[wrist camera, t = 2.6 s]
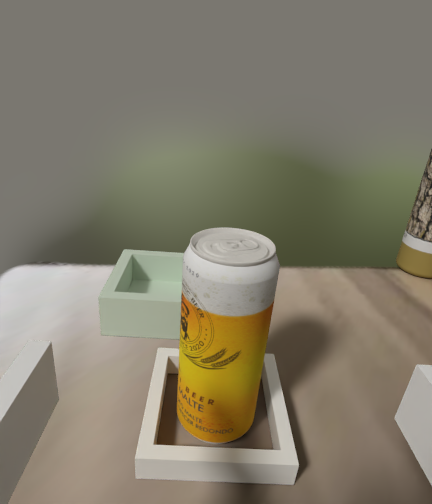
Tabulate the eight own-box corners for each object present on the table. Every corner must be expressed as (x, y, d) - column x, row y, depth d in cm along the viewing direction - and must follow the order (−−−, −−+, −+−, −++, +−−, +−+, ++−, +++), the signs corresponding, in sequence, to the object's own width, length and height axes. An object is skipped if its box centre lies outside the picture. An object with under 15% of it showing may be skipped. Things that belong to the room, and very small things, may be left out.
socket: (210, 286, 46) (212, 255, 45) (209, 341, 37) (212, 304, 35) (125, 280, 46) (124, 249, 44) (101, 335, 36) (98, 297, 34)
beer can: (166, 397, 30) (170, 229, 23) (232, 378, 32) (251, 222, 26) (193, 462, 25) (207, 272, 18) (267, 434, 27) (302, 258, 21)
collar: (270, 370, 33) (273, 354, 33) (293, 484, 24) (298, 465, 23) (158, 364, 33) (158, 347, 32) (135, 478, 23) (135, 458, 23)
